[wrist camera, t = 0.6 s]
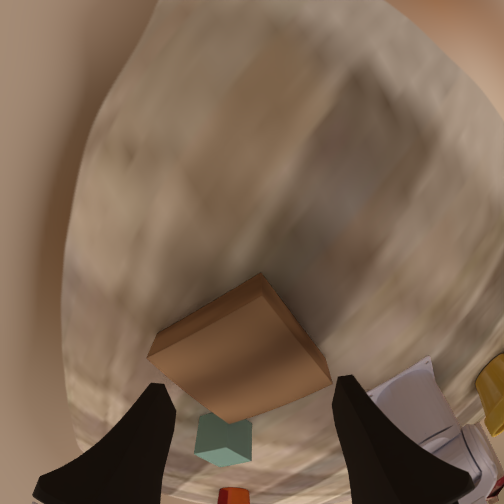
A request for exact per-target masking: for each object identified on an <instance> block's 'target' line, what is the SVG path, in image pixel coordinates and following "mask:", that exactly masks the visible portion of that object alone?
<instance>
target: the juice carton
mask: <svg viewBox="0 0 504 504" xmlns="http://www.w3.org/2000/svg"><path fill="white" fill-rule="evenodd" d="M475 426H476V427H477V428H478V430H479V431H480V433H481V434H482V436H483V438H484V439H485V441H486V443H487V445H488V447H489V449H490V451H491V454H492V456H493V460H494V463H495V465H496V467H497V471H498V475H497V481H496V484H495V486H494V487H493V489H492V491H491V492H490V494H489V496H488V497H487V499H486V501H488V502H489V504H493V503H495V502H498V501H499V499H498V494H499V492H500V491H501V490H502V488H503V487H504V470H503V468H502V466H501V463H500V461H499V459H498V457H497V455H496V453H495V451H494V449H493V447H492V445H491V443H490V441H489V439H488V437H487V436H486V434H485V432H484V430H483V428H482V426H481V425H480V423H479V422H478V423H477V424H475ZM475 481H476V480H475ZM475 481H474V482H475Z"/></svg>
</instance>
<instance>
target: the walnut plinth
mask: <svg viewBox="0 0 504 504" xmlns="http://www.w3.org/2000/svg"><path fill="white" fill-rule="evenodd" d="M147 359H148V360H149V361H150V362H151V363H152V364H153V365H154V366H156V367H157V368H158V369H159V370H160V371H161V372H162V373H163V374H165V375H166V376H167V377H168V378H169V379H170V380H172V381H173V382H174V383H175V384H176V385H178V386H179V387H180V388H181V389H183V390H184V391H185V392H186V393H188V394H189V395H190V396H191V397H193V398H194V399H195V400H197V401H198V402H199V403H200V404H202V405H203V406H204V407H206V408H207V409H209V410H210V411H211V412H213V413H214V414H215V415H217V416H218V417H220V418H221V419H223V420H224V421H225V422H227V423H228V424H231V423H235V422H238V421H241V420H244V419H247V418H250V417H253V416H256V415H259V414H262V413H265V412H267V411H270V410H273V409H275V408H278V407H281V406H283V405H286V404H288V403H291V402H293V401H295V400H298V399H300V398H303V397H305V396H307V395H309V394H312V393H314V392H316V391H318V390H320V389H323V388H325V387H327V386H329V385H331V384H333V383H332V379H331V376H330V372H329V369H328V366H327V362H326V359H325V357H324V356H323V355H322V353H321V352H320V351H319V349H318V348H317V347H316V345H315V344H314V343H313V341H312V340H311V339H310V337H309V336H308V335H307V333H306V332H305V331H304V329H303V328H302V327H301V325H300V324H299V323H298V321H297V320H296V319H295V317H294V316H293V315H292V313H291V312H290V311H289V309H288V308H287V307H286V305H285V304H284V303H283V301H282V300H281V299H280V297H279V296H278V295H277V293H276V292H275V291H274V289H273V288H272V287H271V285H270V284H269V283H268V281H267V280H266V279H265V277H264V276H263V275H262V273H259V274H258V275H256V276H254V277H253V278H251V279H249V280H248V281H246V282H244V283H243V284H241V285H239V286H238V287H236V288H234V289H233V290H231V291H229V292H228V293H226V294H224V295H223V296H221V297H219V298H218V299H216V300H214V301H213V302H211V303H209V304H207V305H206V306H204V307H202V308H201V309H199V310H197V311H196V312H194V313H192V314H190V315H189V316H187V317H185V318H183V319H182V320H180V321H178V322H177V323H175V324H173V325H171V326H170V327H168V328H166V329H164V330H163V331H161V332H159V333H157V335H156V337H155V340H154V342H153V344H152V347H151V349H150V351H149V353H148V356H147Z"/></svg>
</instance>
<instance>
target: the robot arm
mask: <svg viewBox="0 0 504 504" xmlns="http://www.w3.org/2000/svg"><path fill="white" fill-rule="evenodd" d="M427 361H428V362H427ZM426 362H427V363H426ZM370 395H372V396H370ZM332 409H333V416H334V422H335V427H336V430H337V434H338V437H339V441H340V444H341V447H342V451H343V454H344V458H345V461H346V465H347V469H348V474H349V481H350V488H351V497H352V504H487V502H486V499H487V497H488V496H489V494H490V492H491V491H492V489H493V487H494V486H495V484H496V481H497V475H498V471H497V467H496V465H495V463H494V460H493V456H492V454H491V451H490V449H489V447H488V445H487V443H486V441H485V439H484V438H483V436H482V434H481V433H480V431H479V430H478V428H477V427H476V426H475V425H469V424H466V425H465V426H464V427H462V426H460V424H459V422H458V420H457V418H456V417H455V415H454V413H453V411H452V409H451V407H450V406H449V404H448V402H447V400H446V399H445V397H444V395H443V393H442V392H441V390H440V388H439V387H438V385H437V383H436V382H435V376H434V372H433V367H432V362H431V358H430V356H429V355H428V356H426V357H424V358H423V359H421V360H420V361H418V362H417V363H415V364H413V365H412V366H410V367H409V368H407V369H406V370H404V371H402V372H401V373H399V374H397V375H396V376H394V377H392V378H391V379H389V380H387V381H385V382H384V383H382V384H380V385H378V386H377V387H375V388H373V389H371V390H369V391H367V392H365V390H364V389H363V388H362V387H361V385H360V384H359V383H358V381H357V380H356V378H355V377H354V376H353V375H346V376H340V377H338V379H337V384H336V388H335V393H334V398H333V402H332ZM175 418H176V409H175V407H174V405H173V403H172V401H171V398H170V396H169V394H168V392H167V390H166V387H165V385H164V384H160V383H150V384H149V386H148V387H147V388H146V389H145V391H144V392H143V393H142V394H141V396H140V397H139V398H138V399H137V401H136V402H135V403H134V404H133V406H132V407H131V408H130V409H129V410H128V412H127V413H126V414H125V415H124V416H123V417H122V419H121V420H120V421H119V422H118V423H117V424H116V425H115V426H114V427H113V428H112V429H111V430H110V431H109V432H108V433H107V434H106V435H105V436H104V437H103V438H102V439H101V440H100V441H99V442H97V443H96V444H95V445H94V446H93V447H91V448H90V449H89V450H87V451H86V452H85V453H83V454H82V455H81V456H79V457H78V458H76V459H74V460H73V461H71V462H69V463H68V464H66V465H64V466H62V467H60V468H58V469H56V470H54V471H52V472H49V473H47V474H44V475H42V476H40V477H39V480H38V482H37V485H36V487H35V489H34V492H33V494H32V495H33V497H34V498H36V499H37V500H39V501H40V502H42V503H44V504H160V497H161V487H162V478H163V472H164V468H165V464H166V460H167V456H168V452H169V448H170V444H171V440H172V437H173V432H174V426H175ZM475 480H476V481H475ZM474 481H475V482H474ZM32 504H37V503H35V502H32Z"/></svg>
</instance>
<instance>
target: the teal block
mask: <svg viewBox="0 0 504 504" xmlns="http://www.w3.org/2000/svg"><path fill="white" fill-rule="evenodd" d="M194 454H195V455H197V456H199V457H201V458H203V459H205V460H207V461H208V462H210V463H212V464H215V465H217V466H219V467H224V466H230V465H235V464H240V463H244V462H249V461H252V423H250V422H249V421H248V420H246V419H244V420H241V421H238V422H235V423H231V424H228V423H227V422H225V421H224V420H223V419H221V418H220V417H218V416H217V415H215V414H214V413H210V414H206V415H203V416H200V419H199V425H198V431H197V437H196V444H195V450H194Z"/></svg>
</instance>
